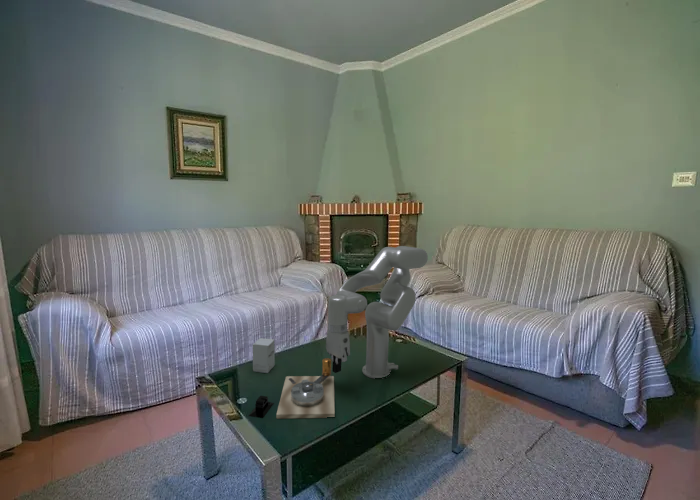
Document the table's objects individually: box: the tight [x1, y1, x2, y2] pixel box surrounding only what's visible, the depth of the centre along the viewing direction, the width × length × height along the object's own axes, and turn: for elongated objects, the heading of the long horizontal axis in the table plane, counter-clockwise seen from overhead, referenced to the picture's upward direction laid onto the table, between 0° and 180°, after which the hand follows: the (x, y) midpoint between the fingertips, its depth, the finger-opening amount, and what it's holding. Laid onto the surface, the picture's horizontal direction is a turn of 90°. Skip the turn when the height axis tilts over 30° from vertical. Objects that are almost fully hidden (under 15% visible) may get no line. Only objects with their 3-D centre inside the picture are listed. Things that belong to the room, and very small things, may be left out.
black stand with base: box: [248, 395, 275, 419], centre depth 123 cm, size 12×7×5 cm, turn 168°
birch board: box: [275, 375, 336, 419], centre depth 131 cm, size 20×26×2 cm
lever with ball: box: [291, 357, 332, 407], centre depth 132 cm, size 22×12×9 cm, turn 153°
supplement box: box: [252, 337, 276, 374], centre depth 152 cm, size 7×7×13 cm
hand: (336, 371), depth 136 cm, fingers closed
